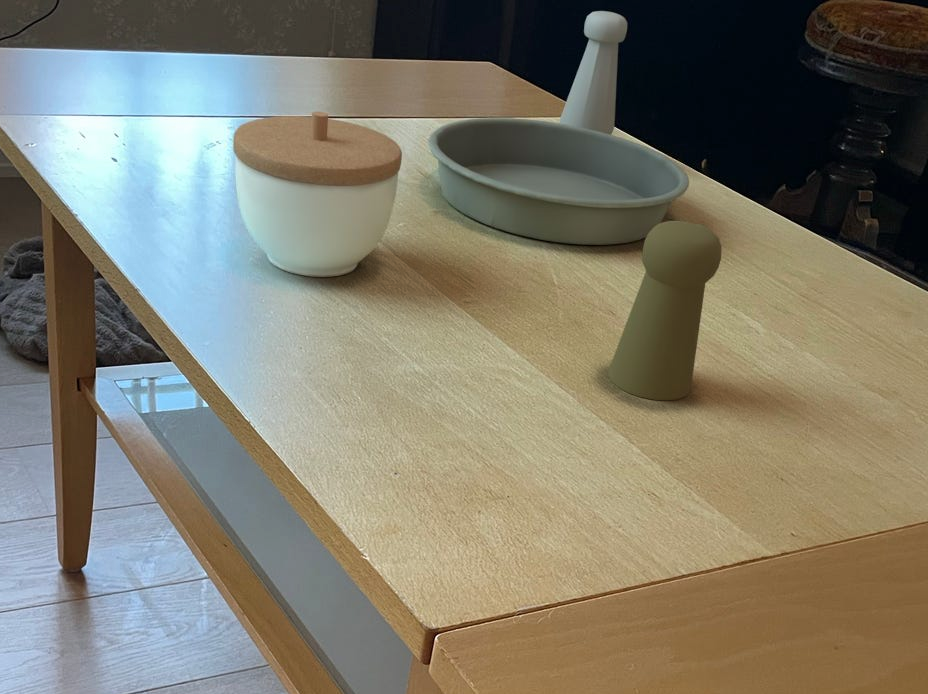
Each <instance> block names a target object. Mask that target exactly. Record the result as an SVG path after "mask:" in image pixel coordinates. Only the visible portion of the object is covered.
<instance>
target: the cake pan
mask: <svg viewBox="0 0 928 694" xmlns="http://www.w3.org/2000/svg"><path fill="white" fill-rule="evenodd" d="M427 140H428V141H427V143H428V147H429V150H430V152H431V154H432V155H433V156H434V158H435V159H437V163H438V164H437V165H438V176H439V184H440V185H439V186H440V192H441V195H442V197H443V198H444V199H445V201H446V202H447V203H448V204H449V205H450V206H452V207H453V208H454V209H455V210H457V211H458V212H460V213H461V214H463V215H465V216H466V217H468V218H470V219H472V220H475V221H477V222H479V223H482V224H484V225H486V226H488V227H492V228H494V229H497V230H500V231H504V232H507V233H510V234H514V235H518V236H522V237H526V238H532V239H535V240H541V241H547V242H554V243H562V244H568V245H569V244H570V245H581V246H582V245H583V246H587V245H588V246H592V245H594V246H608V245H620V244H627V243H632V242H637V241H641V240H643V239H646V237H647V235H648V233H649V232H650V231H651V230H652V229H653V228H654V227H655V226H656V225H657V224H660V223H663V220H664V218H665V217H666V214H667V212H668V210H669V208H670V206H671V204H672V202H674V201H675V200H677V199H679V198H680V197H682V196H683V195H684V194H685V193H686V192H687V190H688V189H689V186H690V180H689V179H690V178H689V176H688V174H687V173H686V171H685V170H684V169H683V168H682V167H681V166H680V165H679V164H678V163H677V162H675V161H674V160H672V159H670V158H669V157H667V156H665V155H664V154H662V153H660V152H658V151H656V150H654V149H652V148H649V147H647V146H644V145H643V144H640V143H637V142H634V141H631V140H629V139H627V138H623V137H620V136H617V135H613V134H611V135H610V134H606V133H603V132H598V131H594V130H590V129H586V128H581V127H577V126H571V125H566V124H560V122H554V121H553V122H552V121H547V120H537V119H528V118H527V119H526V118H512V117H479V118H469V119H462V120H458V121H454V122H450V123H447V124H444V125H442V126H440V127H438V128H436V129H434V131H432V133H431V134H430V135H429V138H428V139H427Z"/></svg>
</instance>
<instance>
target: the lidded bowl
mask: <svg viewBox="0 0 928 694" xmlns="http://www.w3.org/2000/svg"><path fill="white" fill-rule="evenodd" d="M232 138H233V139H232V142H233V144H232V145H233V146H232V147H233V148H232V149H233V152H234V176H235V177H234V179H235V180H234V181H235V189H236V190H235V191H236V197H237V203H238V207H239V212H240V214H241V217H242V221H243V222H244V225H245V228H246V229H247V232H248V233H249V235H250V236H251V238H252V240H254V242H255V243H256V244H257V245H258V247H259V248H260V249H261V250H262V251H263V252H264V253H265V254H266V255H267V256H266V257H267V260H268V261H269V263H271V264H272V265H273V266H275V267H276V268H278V269H280V270H283V271H286V272H288V273H291V274H295V275H300V276H304V277H305V276H306V277H313V278H327V277H328V278H329V277H339V276H342V275H347V274H349V273H351V272H353V271H354V270H355V269H356V268H357V267H358V263H360V261H362V260H363V259H365V258H367V256H368V255H369V254H371V252H373V251H374V250H375V248H376V247H377V245H378V244H379V243H380V241H381V240H382V239H383V237H384V235H385V233H386V231H387V229H388V226H389V223H390V220H391V218H392V214H393V211H394V210H393V209H394V206H395V201H396V196H397V190H398V189H397V188H398V182H399V181H398V180H399V171H400V170H401V166H402V160H403V151H402V149H401V147H400V146H399V144H398V143H397V142H396V141H395V140H393V139H392V138H390V137H389V136H387V135H386V134H384V133H381V132H379V131H377V130H374V129H372V128H369V127H367V126H363V125H360V124H356V123H353V122H348V121H343V120H338V119H334V118H333V119H332V118H329V113H328V112H325V111H312V112H311V116H306V115H305V116H304V115H281V116H269V117H263V118H257V119H254V120H250V121H247V122H245V123H242V124H241V125H240V126H238V127H237V128H236V129H235V130H234V133H233V137H232Z"/></svg>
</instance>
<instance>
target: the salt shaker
mask: <svg viewBox="0 0 928 694" xmlns="http://www.w3.org/2000/svg"><path fill="white" fill-rule="evenodd" d="M627 31H628V21H627V20H626V18H625V17H624V16H622V15H621V14H618V13H616V12H612V11H605V10H599V11H598V10H596V11H592V12H591V13H590V14H588V15H587V16H586V19H585V21H584V29H583V33H584V36H585V37H587V38H588V42H587V45H586V47H585V51H584V53H583V56H582V59H581V61H580V64H579V67H578V69H577V71H576V75H575V78H574V80H573V83H572V86H571V88H570V92H569V94H568V96H567V98H566V101H565V105H564V107H563V110H562V112H561V115H560V117H559V123H560V124H566V125H571V126H577V127H581V128H586V129H590V130H594V131H598V132H603V133H606V134H610V135H613V132H614V129H615V121H616V99H617V79H618V77H617V75H618V59H619V58H618V54H619V43H623V42H624V40H625V38H626V36H627Z"/></svg>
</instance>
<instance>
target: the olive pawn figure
mask: <svg viewBox="0 0 928 694" xmlns="http://www.w3.org/2000/svg"><path fill="white" fill-rule="evenodd" d="M641 255H642V256H641V257H642V259H641V260H642V265H643V267H644V269H645V272H644V276H643V278H642V280H641V284H640V286H639V288H638V291H637V294H636V296H635V299H634V301H633V304H632V307H631V309H630V313H629V315H628V318H627V320H626V323H625V325H624V328H623V331H622V334H621V336H620V339H619V342H618V344H617V347H616V350H615V352H614V355H613V358H612V360H611V363H610V366H609V368H608V372H607V376H608V378H609V380H610V382H611V383H612V384H613V385H615V386H616V387H617V388H619V389H620V390H623V391H624V392H626V393H628V394H631V395H633V396H636V397H640V398H642V399H643V398H644V399H649V400H654V401H673V400H679V399H682V398H685V397H687V396H688V395H689V394H690V392H691V391H692V384H693V378H694V377H693V376H694V369H695V362H696V354H697V348H698V340H699V334H700V326H701V319H702V311H703V303H704V298H705V297H704V296H705V289H706V284H707V283H708V281H710V280H711V279H713V277H714V276H715V275H716V273H717V271H718V269H719V267H720V265H721V262H722V261H721V260H722V244H721V240H720V238H719V237H718V236H717V234H716V233H714V232H713V230H711V229H709V228H707V227H705V226H703V225H700V224H696V223H693V222H689V221H681V220H667V221H662V222H661V223H660V224H657V225H656V226H655V227H654V228H653V229H652V230H651V231H650V232H649V233H648V235H647V237H646V238H644V242H643V246H642V252H641Z"/></svg>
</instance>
